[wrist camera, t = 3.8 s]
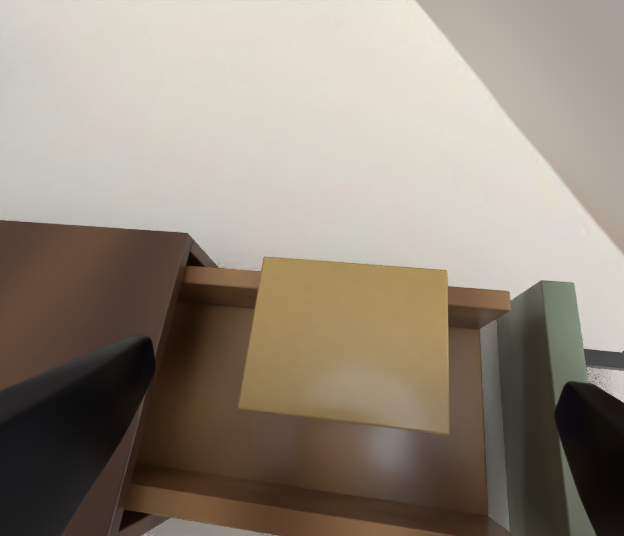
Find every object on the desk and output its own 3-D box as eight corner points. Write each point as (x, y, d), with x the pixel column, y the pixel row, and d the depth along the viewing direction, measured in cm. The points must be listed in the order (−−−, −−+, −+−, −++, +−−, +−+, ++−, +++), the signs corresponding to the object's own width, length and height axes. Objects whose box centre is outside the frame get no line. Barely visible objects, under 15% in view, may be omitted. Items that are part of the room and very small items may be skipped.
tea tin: (401, 423, 16) (450, 435, 8) (285, 409, 16) (236, 408, 9) (404, 330, 17) (447, 269, 10) (297, 319, 18) (263, 255, 10)
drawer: (606, 319, 18) (690, 291, 13) (650, 574, 14) (782, 645, 10) (171, 282, 20) (124, 248, 16) (116, 487, 17) (39, 514, 13)
